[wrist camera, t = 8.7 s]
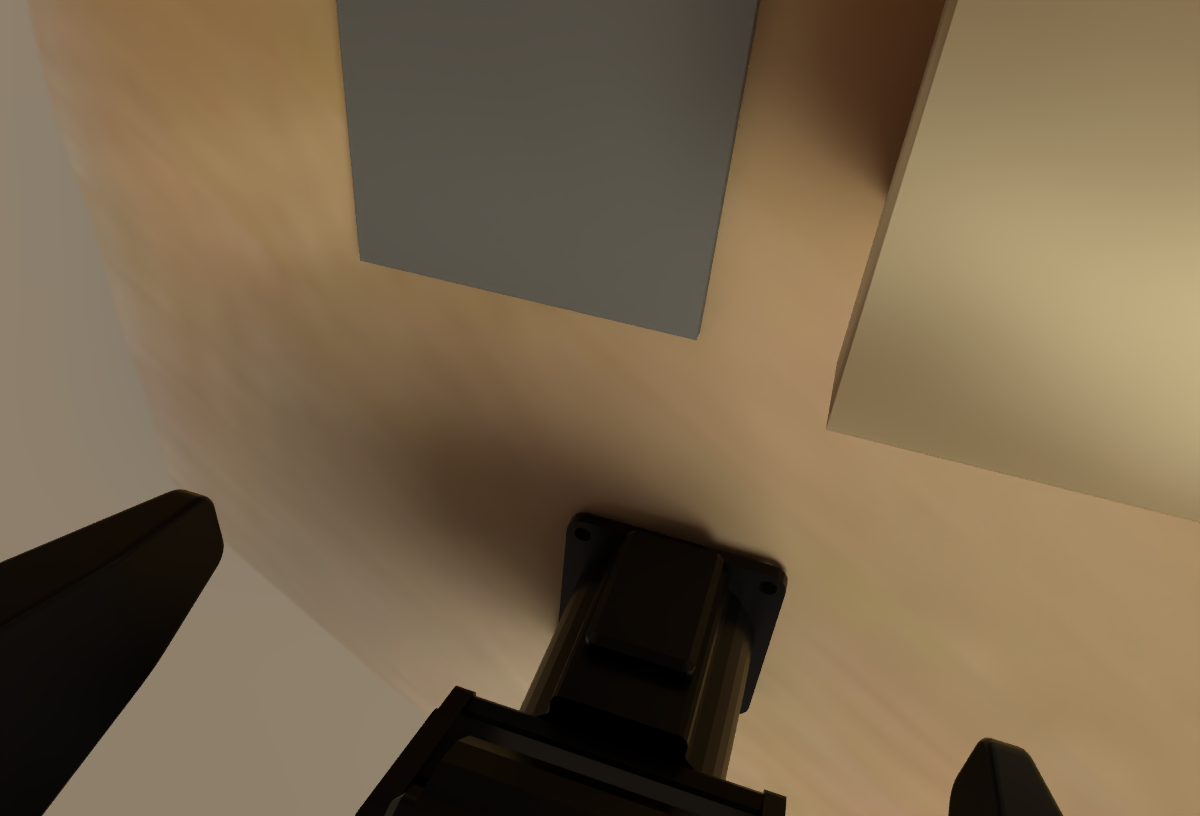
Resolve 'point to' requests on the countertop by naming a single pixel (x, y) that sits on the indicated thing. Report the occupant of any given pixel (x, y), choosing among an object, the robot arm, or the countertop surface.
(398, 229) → the mat
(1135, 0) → the beige block on tray
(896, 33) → the countertop surface
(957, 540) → the countertop surface
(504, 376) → the countertop surface
